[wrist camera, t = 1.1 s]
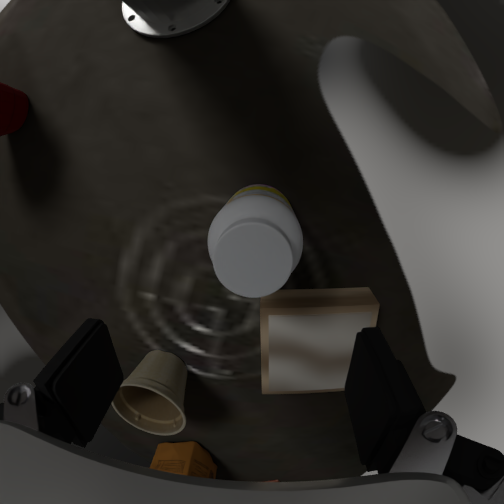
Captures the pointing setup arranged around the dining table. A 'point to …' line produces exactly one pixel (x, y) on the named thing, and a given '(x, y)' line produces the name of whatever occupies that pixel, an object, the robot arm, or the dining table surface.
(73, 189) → the dining table surface
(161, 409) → the flower pot
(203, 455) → the coffee package
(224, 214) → the supplement bottle
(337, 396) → the dining table surface
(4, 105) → the plastic cup
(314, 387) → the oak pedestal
